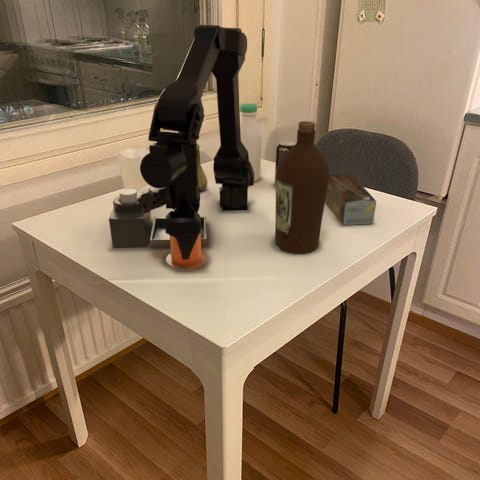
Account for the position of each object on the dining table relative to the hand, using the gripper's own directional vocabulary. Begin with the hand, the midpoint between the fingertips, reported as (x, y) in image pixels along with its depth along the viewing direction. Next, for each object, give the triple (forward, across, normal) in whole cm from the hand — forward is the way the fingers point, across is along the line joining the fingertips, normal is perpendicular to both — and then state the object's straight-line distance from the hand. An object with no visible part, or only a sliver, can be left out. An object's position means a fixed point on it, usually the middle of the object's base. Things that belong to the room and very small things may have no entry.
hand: (186, 248), depth 97 cm
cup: (+3, -34, -12) cm, 37 cm away
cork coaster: (+3, 0, 0) cm, 3 cm away
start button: (-5, -12, -12) cm, 18 cm away
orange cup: (+2, 0, 0) cm, 2 cm away
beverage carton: (+3, -25, +39) cm, 47 cm away
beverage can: (+3, -44, +27) cm, 51 cm away
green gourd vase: (+3, -42, +3) cm, 42 cm away
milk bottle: (+3, -50, +17) cm, 53 cm away
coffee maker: (+3, -12, -12) cm, 17 cm away
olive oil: (+3, -6, +24) cm, 25 cm away
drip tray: (+3, -12, -2) cm, 12 cm away
